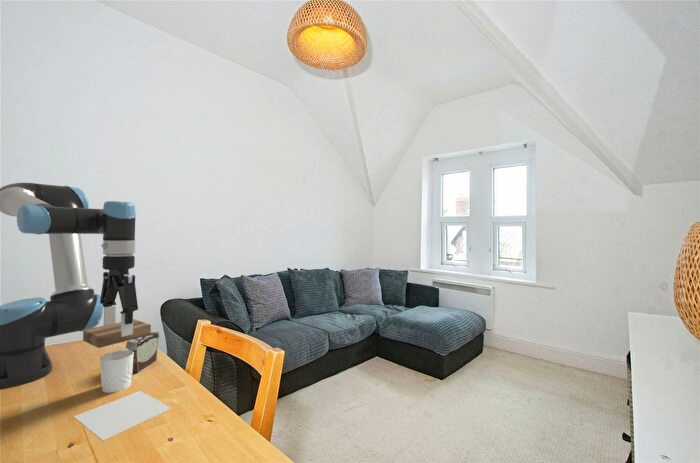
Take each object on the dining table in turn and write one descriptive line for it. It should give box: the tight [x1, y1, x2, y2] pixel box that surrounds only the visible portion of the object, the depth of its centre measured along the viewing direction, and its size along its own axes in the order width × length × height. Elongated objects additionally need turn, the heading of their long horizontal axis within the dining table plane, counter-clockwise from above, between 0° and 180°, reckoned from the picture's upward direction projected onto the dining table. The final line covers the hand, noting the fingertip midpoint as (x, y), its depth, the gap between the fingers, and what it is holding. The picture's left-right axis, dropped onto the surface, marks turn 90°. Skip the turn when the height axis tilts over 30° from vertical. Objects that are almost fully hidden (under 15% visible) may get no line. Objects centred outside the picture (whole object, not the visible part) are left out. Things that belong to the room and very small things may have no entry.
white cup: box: [99, 349, 134, 394], centre depth 92 cm, size 8×8×10 cm
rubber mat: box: [73, 390, 173, 441], centre depth 80 cm, size 16×15×1 cm
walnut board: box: [82, 318, 152, 349], centre depth 92 cm, size 10×13×3 cm
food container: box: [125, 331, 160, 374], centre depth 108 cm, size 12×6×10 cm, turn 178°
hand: (117, 331), depth 92 cm, fingers closed on walnut board, 10 cm apart
